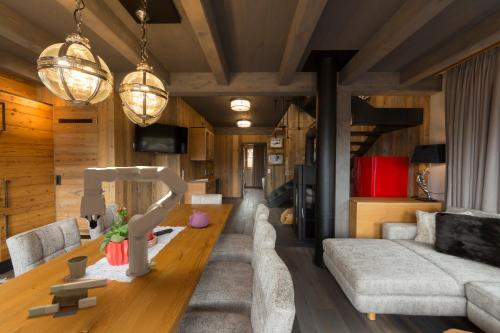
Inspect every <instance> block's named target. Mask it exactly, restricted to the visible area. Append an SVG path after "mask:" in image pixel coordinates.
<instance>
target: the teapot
mask: <svg viewBox="0 0 500 333" xmlns="http://www.w3.org/2000/svg"><path fill="white" fill-rule="evenodd" d="M188 220H189V222H188V226H191V227H193V228H197V229H200V228H205V227H207V226H208V224H209V223H210V221H211V220H210V214H209V212H202V210H201V211H196V210H195V209H193V215H189V219H188Z"/></svg>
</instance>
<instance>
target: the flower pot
mask: <svg viewBox="0 0 500 333" xmlns="http://www.w3.org/2000/svg"><path fill="white" fill-rule="evenodd" d="M89 258H90V257H89V255H87V254H86V255H77V256H74V257H73V256H72V257H71V258H67V260H66V262H65V263H66V264H67V266H68V270H69V275H70V278H72V277H75V278H77V277H79V276H80V277H82V276H84V275H85V274H86V270H87V262H88V259H89ZM83 274H84V275H83ZM81 275H82V276H81Z"/></svg>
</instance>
